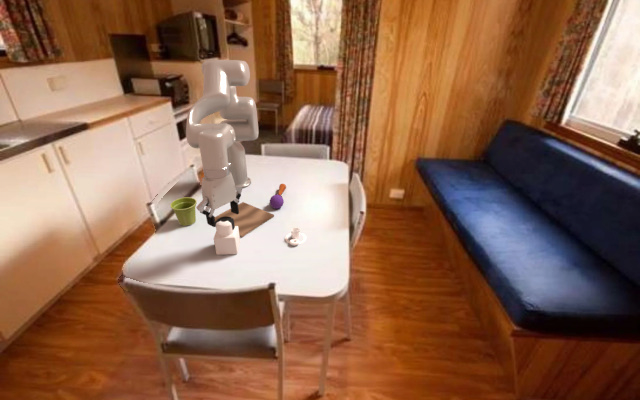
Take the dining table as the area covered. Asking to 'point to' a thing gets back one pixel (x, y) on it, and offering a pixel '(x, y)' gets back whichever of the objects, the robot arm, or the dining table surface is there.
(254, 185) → the dining table surface
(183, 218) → the plant pot
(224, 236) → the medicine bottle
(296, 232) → the white rounded piece
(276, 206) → the purple maraca
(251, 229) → the walnut board
